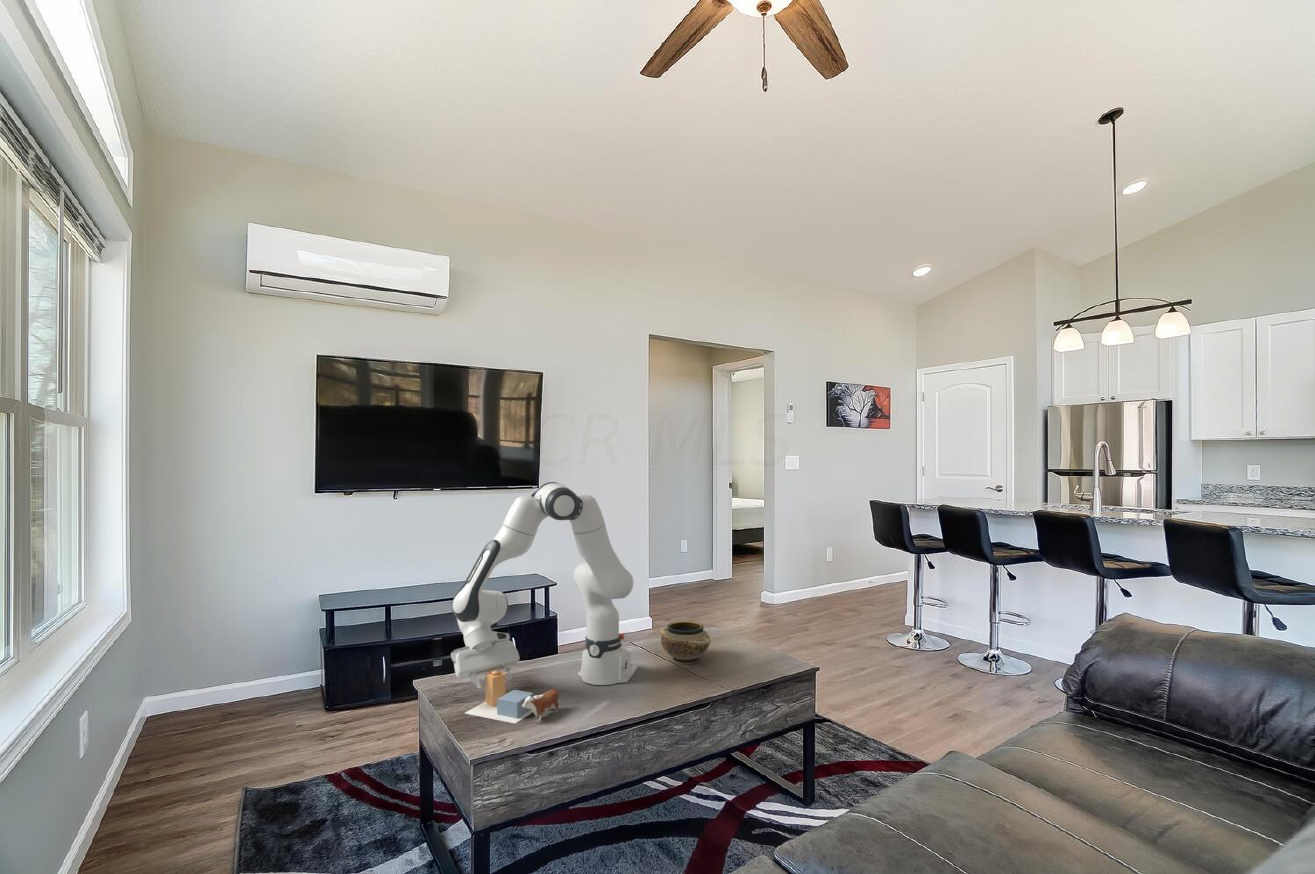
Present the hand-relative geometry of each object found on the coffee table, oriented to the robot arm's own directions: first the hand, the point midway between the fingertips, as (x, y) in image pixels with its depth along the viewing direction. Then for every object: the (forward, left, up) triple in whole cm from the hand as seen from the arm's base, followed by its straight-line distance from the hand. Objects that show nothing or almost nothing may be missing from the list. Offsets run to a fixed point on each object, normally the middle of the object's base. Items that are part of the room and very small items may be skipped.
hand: (495, 683), depth 195 cm
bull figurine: (+3, +19, -7) cm, 20 cm away
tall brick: (0, 0, -6) cm, 6 cm away
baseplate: (+2, +6, -7) cm, 9 cm away
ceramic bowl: (-63, +38, -7) cm, 74 cm away
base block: (+3, +10, -6) cm, 12 cm away
